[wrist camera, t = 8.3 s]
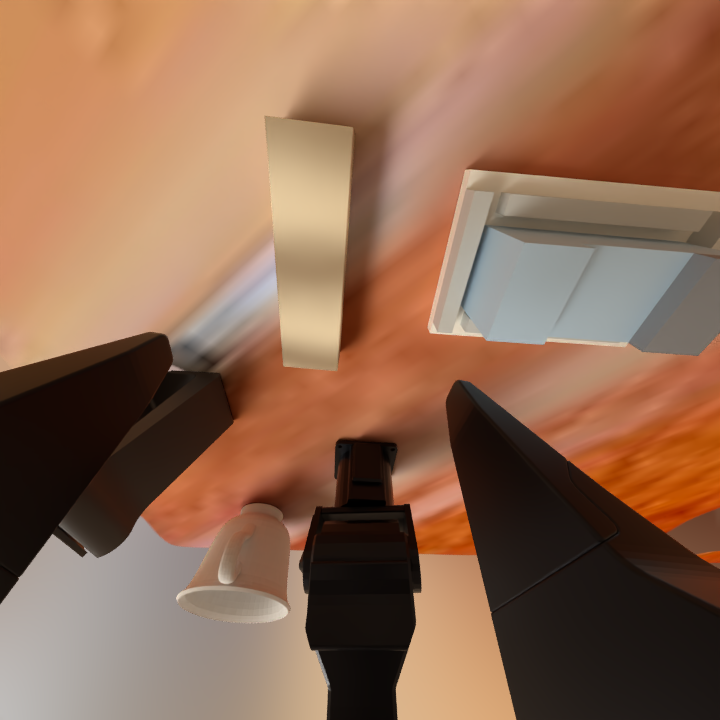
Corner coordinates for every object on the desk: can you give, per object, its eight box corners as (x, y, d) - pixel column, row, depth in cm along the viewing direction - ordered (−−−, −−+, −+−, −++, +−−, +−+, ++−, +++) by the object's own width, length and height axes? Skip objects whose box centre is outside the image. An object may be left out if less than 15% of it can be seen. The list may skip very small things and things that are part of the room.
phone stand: (143, 415, 27) (16, 554, 17) (117, 366, 24) (-60, 505, 14) (234, 420, 27) (161, 560, 17) (221, 373, 24) (121, 514, 14)
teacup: (307, 480, 33) (288, 582, 25) (305, 536, 42) (290, 625, 33) (205, 472, 32) (151, 574, 24) (224, 530, 41) (189, 620, 33)
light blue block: (459, 304, 19) (486, 340, 15) (483, 224, 16) (524, 242, 12) (626, 316, 19) (697, 355, 15) (679, 241, 16) (783, 264, 12)
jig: (718, 192, 16) (771, 195, 14) (615, 340, 22) (641, 358, 19) (465, 169, 15) (480, 169, 13) (427, 326, 21) (434, 343, 19)
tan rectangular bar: (340, 349, 23) (337, 371, 20) (292, 345, 23) (283, 366, 20) (355, 134, 15) (353, 126, 12) (281, 125, 15) (264, 115, 12)
